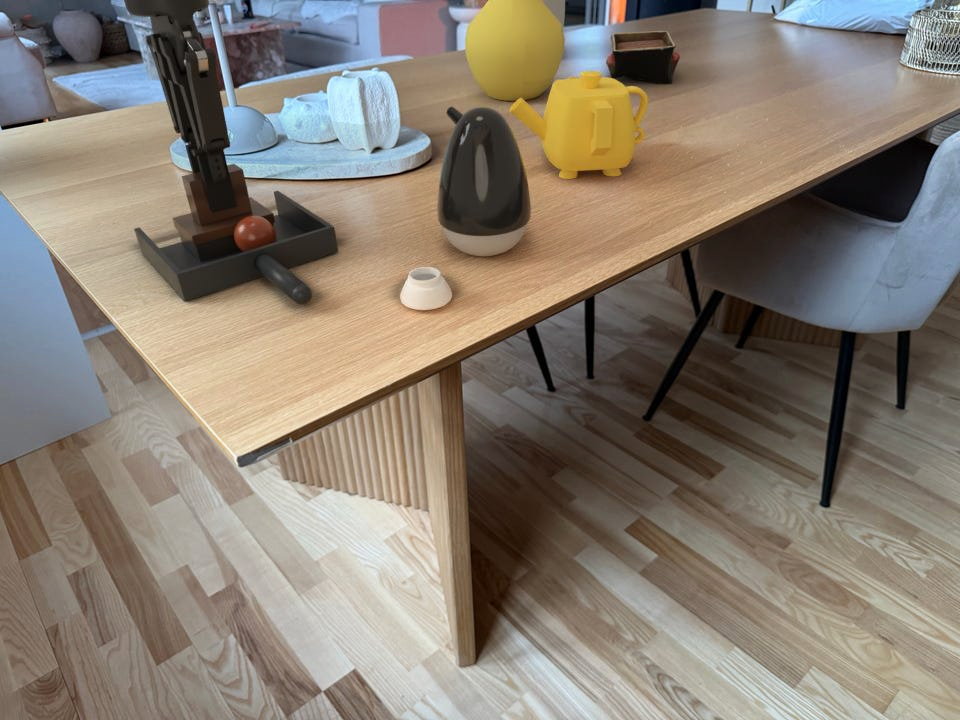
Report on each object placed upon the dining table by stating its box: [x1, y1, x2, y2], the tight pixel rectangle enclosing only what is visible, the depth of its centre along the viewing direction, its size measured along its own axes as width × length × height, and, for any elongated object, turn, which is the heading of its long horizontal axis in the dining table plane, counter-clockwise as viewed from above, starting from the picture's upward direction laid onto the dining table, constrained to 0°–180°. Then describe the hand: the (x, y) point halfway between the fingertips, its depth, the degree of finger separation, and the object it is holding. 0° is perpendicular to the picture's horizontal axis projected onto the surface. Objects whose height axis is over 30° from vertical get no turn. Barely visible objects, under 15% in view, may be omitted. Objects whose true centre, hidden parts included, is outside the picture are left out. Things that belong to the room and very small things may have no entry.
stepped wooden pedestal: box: [172, 163, 275, 261], centre depth 79 cm, size 6×9×8 cm
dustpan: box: [133, 190, 339, 305], centre depth 74 cm, size 25×17×3 cm
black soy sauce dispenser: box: [436, 106, 532, 257], centre depth 74 cm, size 10×10×15 cm
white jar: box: [399, 266, 453, 311], centre depth 68 cm, size 5×3×5 cm
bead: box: [234, 216, 276, 252], centre depth 77 cm, size 4×4×4 cm
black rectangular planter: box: [605, 30, 681, 85], centre depth 141 cm, size 14×18×10 cm
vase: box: [464, 0, 566, 102], centre depth 125 cm, size 18×18×30 cm
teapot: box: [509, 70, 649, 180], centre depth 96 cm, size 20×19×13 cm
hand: (218, 204), depth 78 cm, fingers closed on stepped wooden pedestal, 2 cm apart
